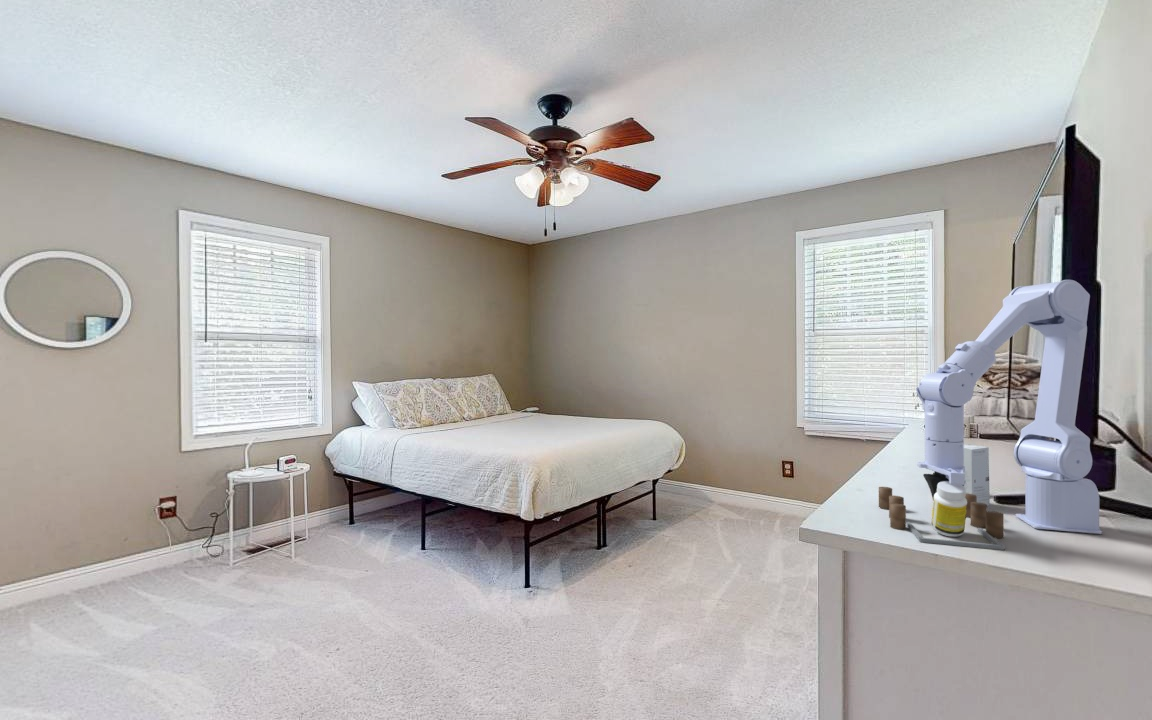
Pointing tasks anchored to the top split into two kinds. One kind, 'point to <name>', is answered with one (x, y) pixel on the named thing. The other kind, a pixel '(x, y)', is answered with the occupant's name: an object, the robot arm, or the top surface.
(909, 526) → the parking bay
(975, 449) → the skincare box
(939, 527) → the supplement bottle
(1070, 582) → the top surface
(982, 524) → the posts
